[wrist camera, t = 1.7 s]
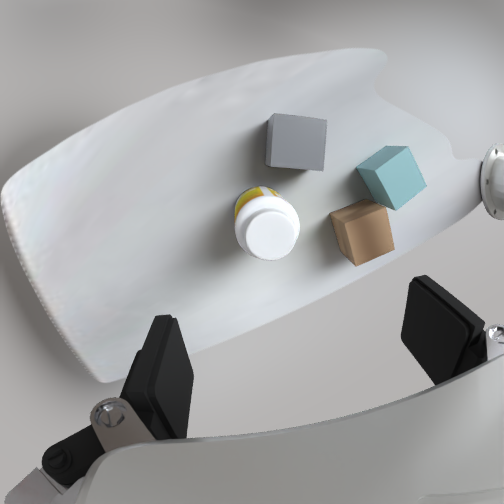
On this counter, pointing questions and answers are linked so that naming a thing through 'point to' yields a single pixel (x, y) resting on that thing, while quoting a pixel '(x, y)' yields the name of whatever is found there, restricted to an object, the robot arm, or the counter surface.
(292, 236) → the supplement bottle
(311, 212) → the counter surface
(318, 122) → the gray block
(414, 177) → the teal block
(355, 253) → the walnut block
